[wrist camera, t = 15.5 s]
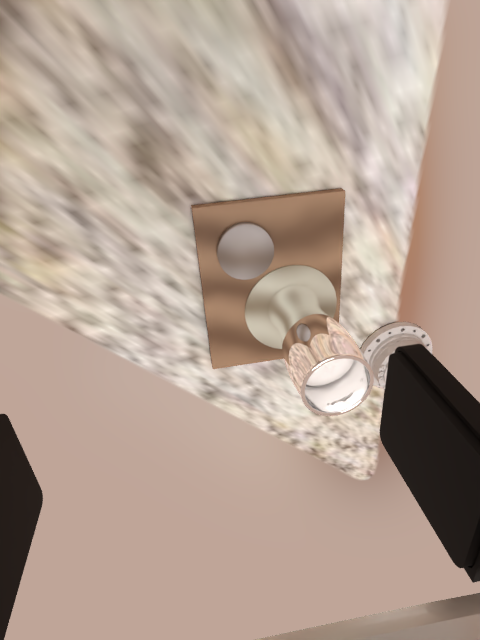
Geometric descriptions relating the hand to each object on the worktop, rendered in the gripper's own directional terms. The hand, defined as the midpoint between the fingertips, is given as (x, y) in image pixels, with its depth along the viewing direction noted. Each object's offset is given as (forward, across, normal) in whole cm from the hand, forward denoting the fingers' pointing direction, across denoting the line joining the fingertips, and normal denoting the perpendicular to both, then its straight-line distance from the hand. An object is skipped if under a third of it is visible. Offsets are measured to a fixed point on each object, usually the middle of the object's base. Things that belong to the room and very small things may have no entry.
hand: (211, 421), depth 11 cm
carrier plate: (+36, -9, +14) cm, 40 cm away
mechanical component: (+37, -25, +27) cm, 52 cm away
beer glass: (+35, -11, +17) cm, 40 cm away
